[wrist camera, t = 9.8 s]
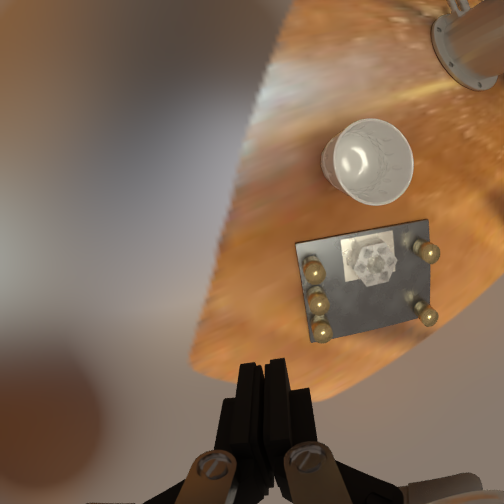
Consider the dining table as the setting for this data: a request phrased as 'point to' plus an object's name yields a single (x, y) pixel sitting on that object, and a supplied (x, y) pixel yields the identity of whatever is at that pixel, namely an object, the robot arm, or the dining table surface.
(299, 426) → the robot arm
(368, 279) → the steel nut
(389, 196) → the white cup
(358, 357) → the dining table surface
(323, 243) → the jig plate
